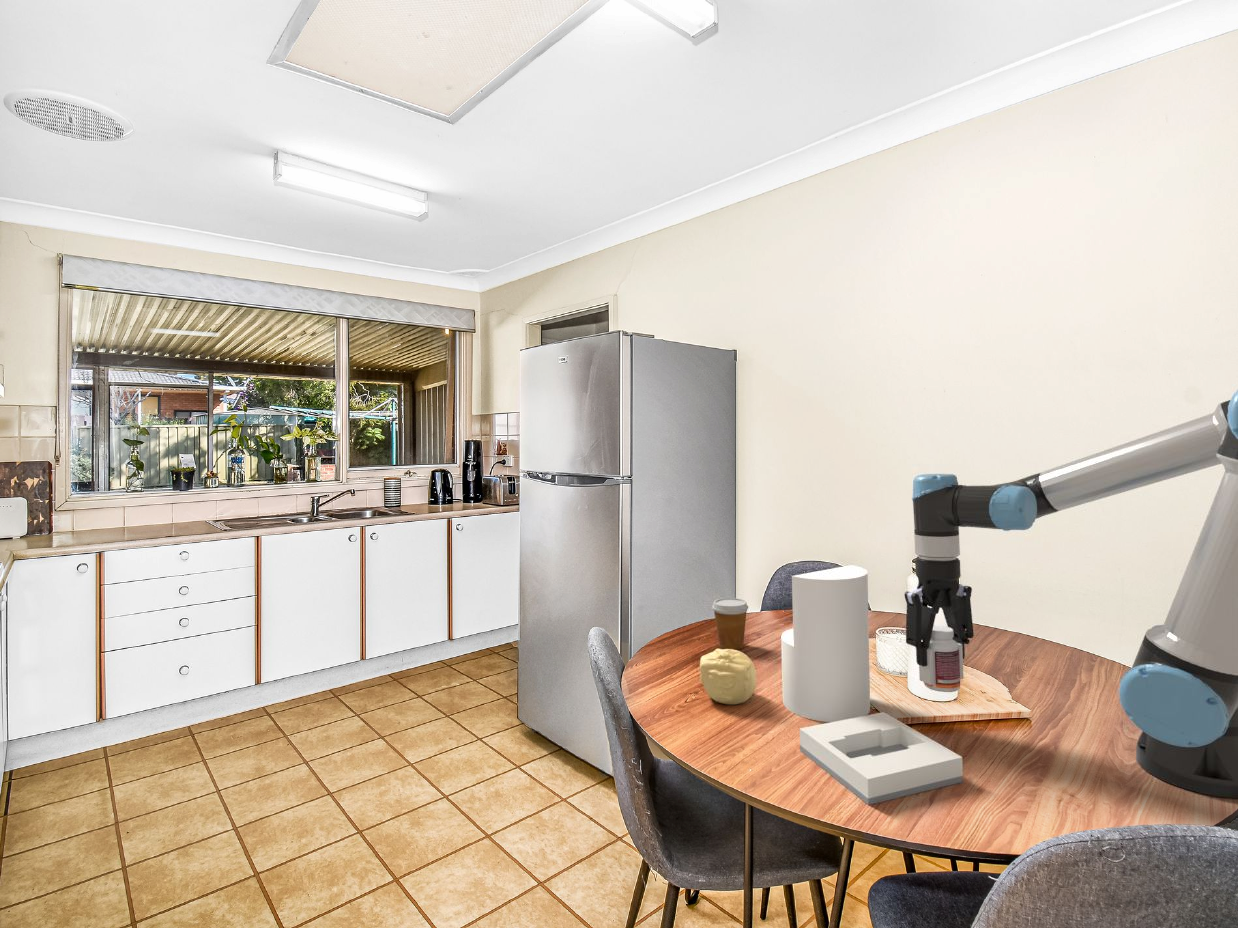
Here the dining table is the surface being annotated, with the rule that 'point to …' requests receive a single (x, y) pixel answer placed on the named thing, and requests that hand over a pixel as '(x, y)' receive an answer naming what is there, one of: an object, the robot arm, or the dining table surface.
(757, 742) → the dining table surface
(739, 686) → the sculpture
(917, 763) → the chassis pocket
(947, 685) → the pill bottle
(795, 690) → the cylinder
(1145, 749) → the robot arm
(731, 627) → the disposable coffee cup
